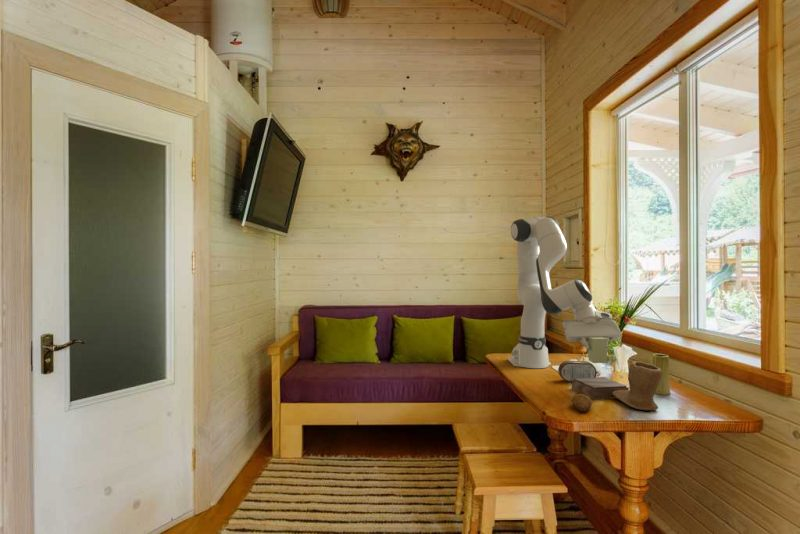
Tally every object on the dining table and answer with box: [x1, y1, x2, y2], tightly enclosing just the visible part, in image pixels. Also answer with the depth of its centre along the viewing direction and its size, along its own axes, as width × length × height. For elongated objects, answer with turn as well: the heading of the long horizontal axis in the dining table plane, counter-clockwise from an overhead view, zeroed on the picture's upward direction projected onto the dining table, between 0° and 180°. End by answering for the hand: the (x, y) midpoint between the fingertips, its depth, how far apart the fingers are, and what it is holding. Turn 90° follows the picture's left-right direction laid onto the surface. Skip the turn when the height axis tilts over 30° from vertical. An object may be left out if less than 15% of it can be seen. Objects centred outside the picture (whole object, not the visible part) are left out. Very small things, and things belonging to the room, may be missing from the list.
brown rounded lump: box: [570, 393, 593, 414], centre depth 147 cm, size 14×7×5 cm, turn 160°
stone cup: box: [612, 360, 662, 411], centre depth 149 cm, size 15×12×15 cm
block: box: [587, 337, 608, 364], centre depth 164 cm, size 5×5×9 cm
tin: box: [557, 360, 598, 383], centre depth 180 cm, size 15×3×8 cm, turn 84°
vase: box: [652, 353, 671, 396], centre depth 164 cm, size 6×6×14 cm
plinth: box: [571, 376, 629, 400], centre depth 164 cm, size 14×14×4 cm
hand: (597, 349), depth 163 cm, fingers closed on block, 5 cm apart
